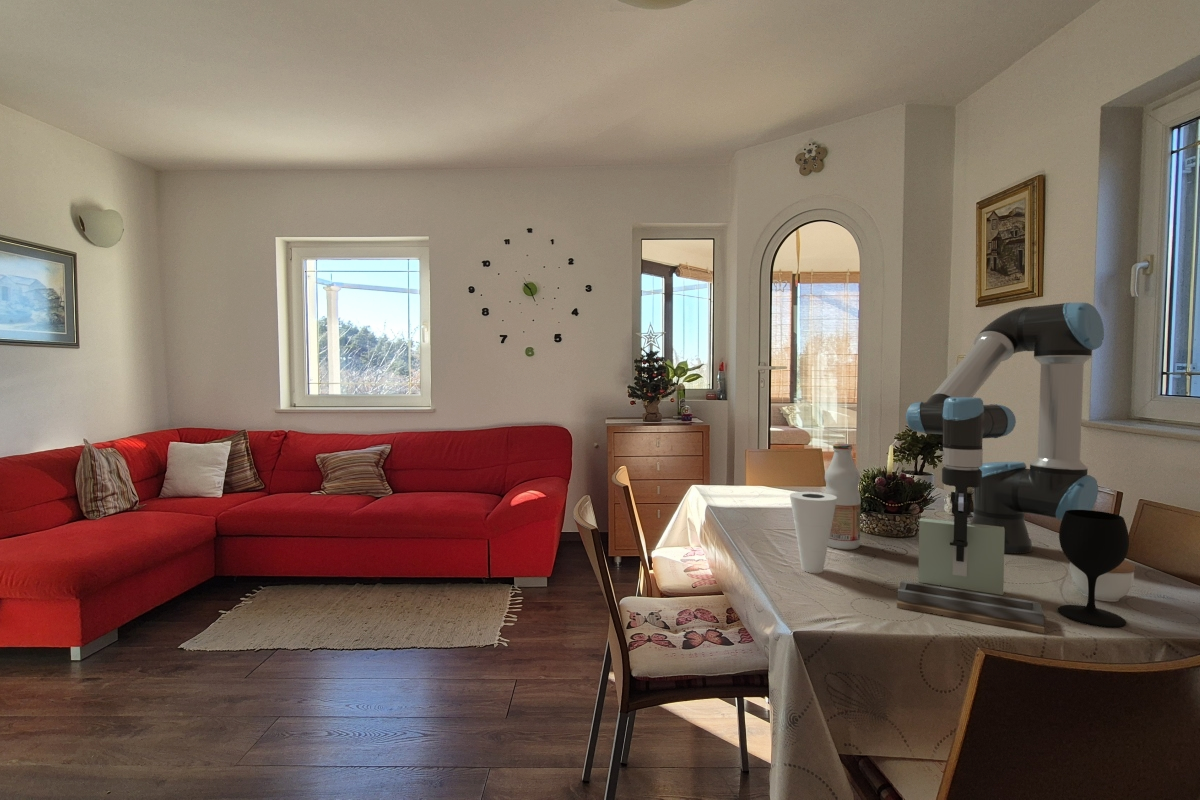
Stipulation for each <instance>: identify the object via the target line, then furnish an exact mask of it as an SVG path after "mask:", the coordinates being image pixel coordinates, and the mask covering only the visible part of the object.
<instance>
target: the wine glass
mask: <svg viewBox="0 0 1200 800" xmlns="http://www.w3.org/2000/svg"><path fill="white" fill-rule="evenodd" d="M1060 522H1061V523H1060V526H1059V530H1058V531H1059V532H1058V538H1059V540H1058V541H1059V545H1060V547H1061V550H1062V552H1063V555H1064V556H1065V557H1066V558H1067V559H1068V561H1069V563H1070V562H1071V563H1072V564H1074V565H1075V566H1076V567H1077V568H1078V569H1080V570H1081V571H1082V572H1083V573H1085V574H1086V576H1087V579H1088V597H1087V602H1086V603H1087V604H1086V605H1080V604H1079V605H1078V604H1064V605H1059V607H1058V608H1057V613H1058V614H1059V615H1060V616H1061V617H1064V618H1066V619H1068V620H1071V621H1074V622H1075V623H1079V622H1080V624H1083V625H1087V624H1088V626H1093V627H1097V626H1098V628H1105V629H1106V628H1107V629H1108V628H1109V629H1110V628H1111V629H1112V628H1113V629H1116V628H1117V629H1119V628H1123V627H1125V626H1126V625H1127V621H1126V619H1125V618H1123V617H1122V616H1120V615H1119V614H1116V613H1114V612H1111V611H1109V610H1105V609H1101V608H1097V606H1096V600H1095V585H1096V580H1097V578H1098V577H1099V576H1100V575H1103V574H1105V573H1107V572H1110V571H1111V570H1113V569H1115V568H1116V567H1118V566H1119V565H1120V564H1121V563H1122V562H1123V561H1124V560H1126V557H1127V555H1128V552H1129V549H1130V536H1129V531H1128V527H1127V524H1126V520H1125V518H1124V517H1123V516H1122V515H1119V514H1115V513H1112V512H1105V511H1099V510H1093V509H1092V510H1067V511H1065V514H1064V516H1063V518H1062V520H1060Z"/></svg>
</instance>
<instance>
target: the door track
mask: <svg viewBox="0 0 1200 800" xmlns="http://www.w3.org/2000/svg"><path fill="white" fill-rule="evenodd" d="M896 608H898V609H902V608H903V610H908V609H909V611H913V610H915V612H919V611H921V612H920V613H925V612H928V613H927V614H930V613H933V614H932V615H936V614H937V616H941V615H943V616H942V617H948V618H954V619H958V620H963V621H969V622H970V621H971V622H976V623H980V624H986V625H993V626H998V627H1003V628H1010V629H1015V630H1019V631H1020V630H1021V631H1025V630H1026V631H1025V632H1031V631H1033V633H1036V632H1039V633H1038V634H1042V633H1043V635H1044V634H1045V627H1044V620H1045V619H1044V615H1045V614H1044V611H1043V608H1042V605H1041V602H1040V601H1034V600H1026V599H1022V598H1021V599H1020V598H1013V597H1007V596H1003V595H997V594H990V593H984V592H978V591H971V590H965V589H958V588H952V587H946V586H939V585H933V584H927V583H920V582H912V581H907V580H901V581H900V582H899V586H898V588H897V602H896Z"/></svg>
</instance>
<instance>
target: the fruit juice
mask: <svg viewBox="0 0 1200 800" xmlns="http://www.w3.org/2000/svg"><path fill="white" fill-rule="evenodd" d="M832 448H833V455H832V457H831V461H830V464H829V465H828V467H827V468H826V469H825V472H824V480H825V489H824V492H823V493H827V494H831V495H834V496H836V497H837V500H836V505H835V511H834V516H833V521H832V526H831V531H830V536H829V541H828V546H827V547H829V548H833V549H838V550H855V549H858V548H859V547H860V544H861V505H862V504H861V502H862V501H861V492H860V490H859V485H860V482H861V473H860V471H859V469H858V468H857V467H856V464H855V462H854V459H853V456H852V452H853V445H852V444H850V443H833V445H832Z"/></svg>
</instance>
